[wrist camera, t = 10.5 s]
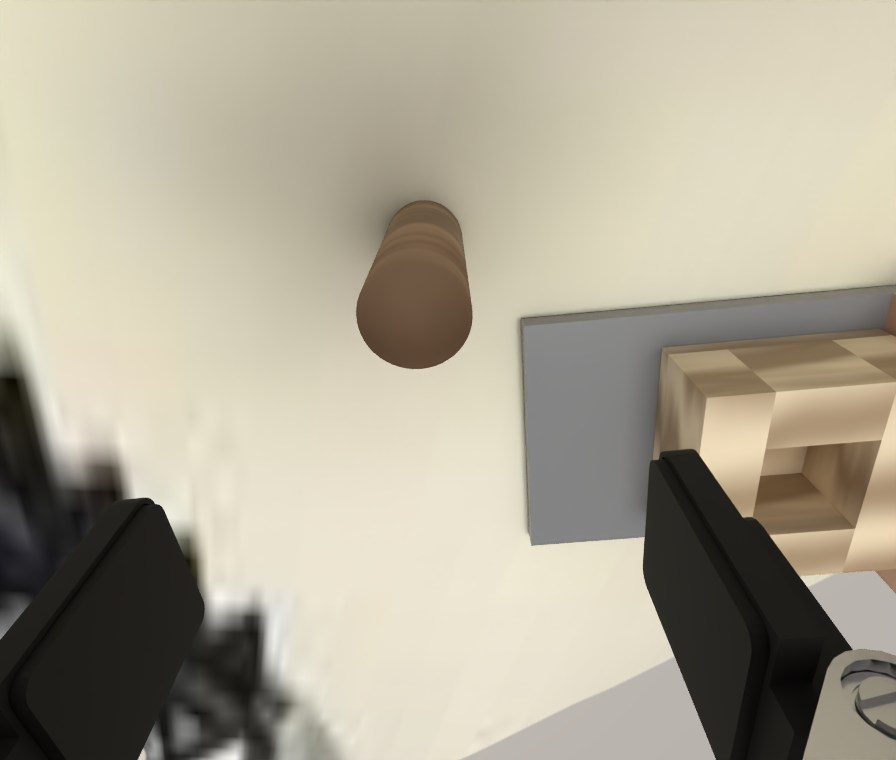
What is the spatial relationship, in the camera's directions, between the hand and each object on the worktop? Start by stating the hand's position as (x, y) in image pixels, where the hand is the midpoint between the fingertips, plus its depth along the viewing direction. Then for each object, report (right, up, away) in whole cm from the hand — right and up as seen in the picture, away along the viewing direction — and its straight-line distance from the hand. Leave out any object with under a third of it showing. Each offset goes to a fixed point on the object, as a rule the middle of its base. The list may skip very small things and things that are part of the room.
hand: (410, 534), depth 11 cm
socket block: (+19, 0, +23) cm, 30 cm away
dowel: (-1, +11, +19) cm, 22 cm away
